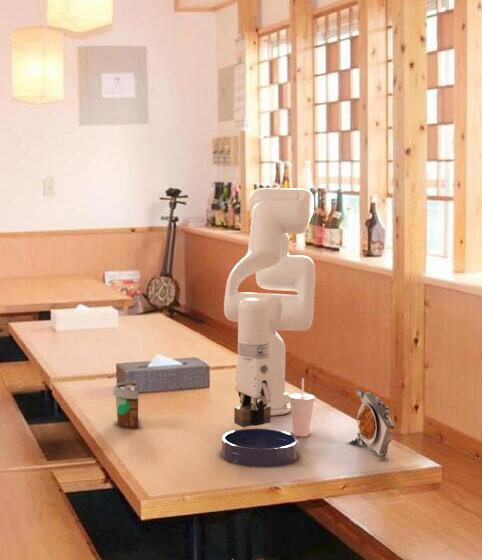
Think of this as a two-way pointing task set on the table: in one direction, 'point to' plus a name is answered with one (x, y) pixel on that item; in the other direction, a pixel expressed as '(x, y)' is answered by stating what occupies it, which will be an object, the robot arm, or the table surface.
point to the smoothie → (301, 412)
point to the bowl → (259, 447)
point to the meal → (373, 424)
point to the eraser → (248, 415)
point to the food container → (127, 404)
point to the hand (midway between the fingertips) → (252, 421)
